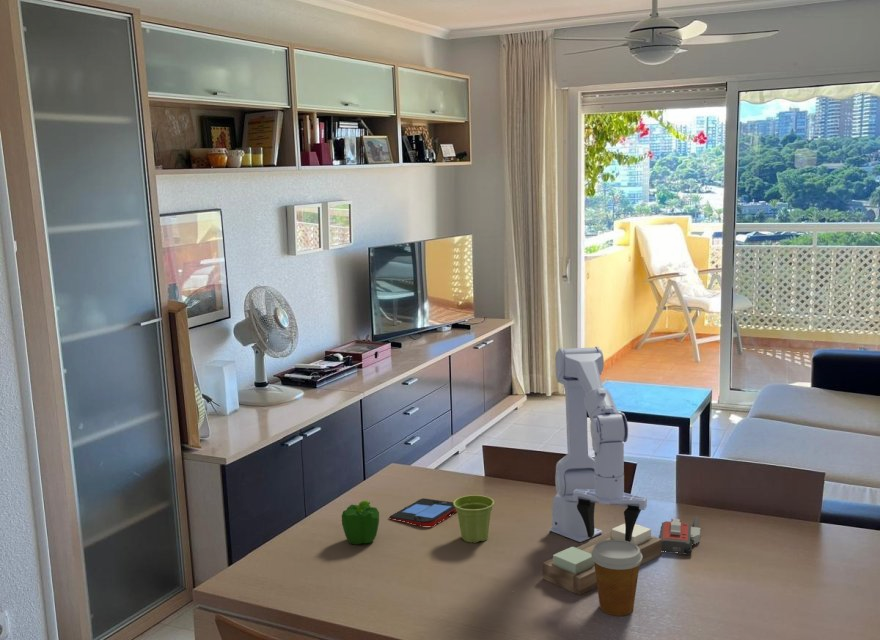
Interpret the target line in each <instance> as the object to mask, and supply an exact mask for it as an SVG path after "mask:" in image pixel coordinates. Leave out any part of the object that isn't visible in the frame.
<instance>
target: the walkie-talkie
mask: <svg viewBox="0 0 880 640" xmlns="http://www.w3.org/2000/svg"><path fill="white" fill-rule="evenodd" d="M670 520H671V521H667V520H666V521H662V522H661V526H660V532H659V539H662V542H661V551H664V552H663V553H666V552H678V553H686V554H685V555H690V554H692V552H693V545H692V544H695V543H697V544H699V543H700V542H701V532H702V529H701V527H699V517H698V516H694V517H693V526H691V524H689V523H687V522H682V519H678V518H671V519H670ZM698 542H699V543H698ZM695 545H696V544H695ZM665 551H666V552H665Z"/></svg>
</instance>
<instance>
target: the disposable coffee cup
mask: <svg viewBox="0 0 880 640" xmlns="http://www.w3.org/2000/svg"><path fill="white" fill-rule="evenodd" d="M591 556H592V558H593V561H594V565H595V572H596V581H597V587H596V588H597V594H598V602H599V603H598V604H599V609H600V611H602V612H604V613H605V614H606V615H610V616H617V617H620V616H621V617H622V616H627V615H629V614H631V613H632V612H633V611H634V606H635V600H636V593H637V586H638V577H639V573H640V572H639V570H640V566H641V565H640V563H641V561H642V557H643V556H642V554H641V552H640V549H639V547H638V546H637V545H635V544H634V543H631V542H628V541H624V540H604V541H600V542H598V543H596V545H595V546H594V549H593V551H592V552H591Z"/></svg>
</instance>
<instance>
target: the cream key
mask: <svg viewBox="0 0 880 640" xmlns="http://www.w3.org/2000/svg"><path fill="white" fill-rule="evenodd" d="M625 530H626V527H625V522H624V523H622V524H620V525H618V526H615V527H613V528H611V532H612V539H614V540H624V541H625ZM651 536H652V528H649V527H646V526H643V525H639V524H637V523H635V525H634V529H633V533H632V539H631V541H630V542H631V543H634V544H635V545H639V544H641V543H643V542H646V541H648V540H650V539H651Z"/></svg>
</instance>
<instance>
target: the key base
mask: <svg viewBox="0 0 880 640" xmlns="http://www.w3.org/2000/svg"><path fill="white" fill-rule="evenodd" d="M604 540H614V539H612V531H611V532H609V533H606V534H604V535H602V536H599V537H597V538H595V539H593V540H590V541H588V542H586V543H583V544H581V545H579V546H577V547H576V548H578V549H580V550H583V551H585V552H588V553H590V554H591V552H592V551H593V549H594V546H595V545H596V543H598V542H600V541H604ZM661 542H662V539H660V537H655V536H653V535H651V539H650V540H648V541H646V542H643V543H641V544H639V545H637V546H638V547H639V549H640V552H641V554H642V556H643V557H642V561H641V563H640V565H639V566H641V565H643V564H646V563H647V562H650V561H651V560H653V559H655V558H657V557H659V556H661V555H662V552H661ZM660 554H661V555H660ZM541 566H542V580H545V581H547V582H549V583H552V584H553V585H555V586H558V587H561V588H562V589H565V590H567V591H569V592H572V593H574V594H576V595H579V596H582V595H584V594H586V593H588V592H590V591H591V590H594V589H595V588H597V581H596V572H595V566H593V567H591V568H589V569H587V570H585V571H583V572H580V573H578V574H576V575H575V574H573V573H570V572H568V571H566V570H563V569H561V568H559V567H556V566H554V565H553V557H552V558H550V559H548V560H546V561H543V562H542V565H541Z"/></svg>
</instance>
